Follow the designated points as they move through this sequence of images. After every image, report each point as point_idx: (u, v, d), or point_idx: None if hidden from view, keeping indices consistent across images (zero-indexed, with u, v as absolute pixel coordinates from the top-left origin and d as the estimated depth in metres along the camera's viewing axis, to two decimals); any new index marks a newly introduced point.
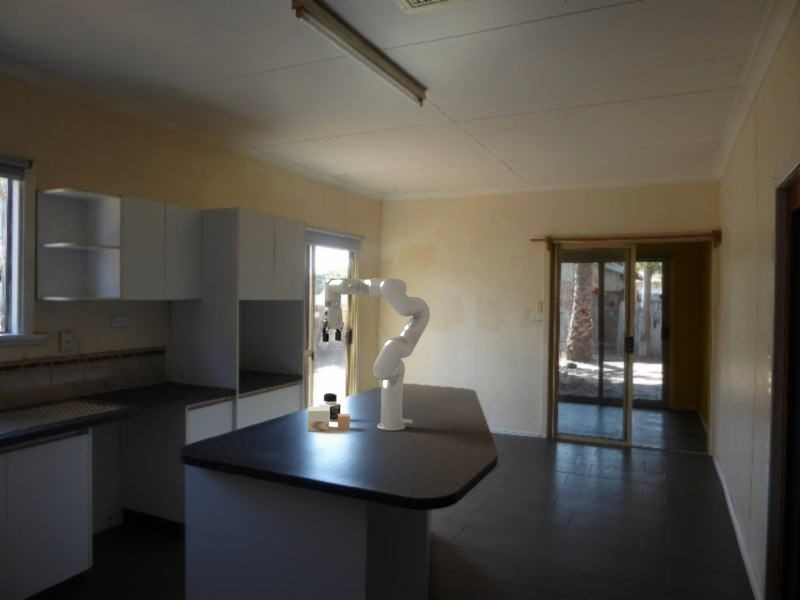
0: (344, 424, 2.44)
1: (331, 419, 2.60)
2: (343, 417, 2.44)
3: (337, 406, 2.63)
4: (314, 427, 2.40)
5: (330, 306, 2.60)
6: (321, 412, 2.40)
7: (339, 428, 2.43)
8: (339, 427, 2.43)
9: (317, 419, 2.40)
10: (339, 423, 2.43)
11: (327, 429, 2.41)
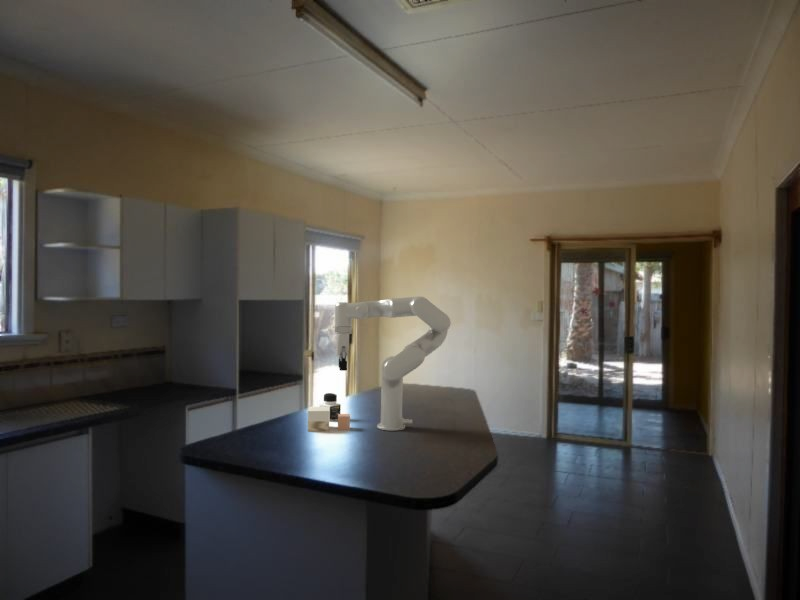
0: (344, 424, 2.44)
1: (331, 419, 2.60)
2: (343, 417, 2.44)
3: (337, 406, 2.63)
4: (314, 427, 2.40)
5: None
6: (321, 412, 2.40)
7: (339, 428, 2.43)
8: (339, 427, 2.43)
9: (317, 419, 2.40)
10: (339, 423, 2.43)
11: (327, 429, 2.41)
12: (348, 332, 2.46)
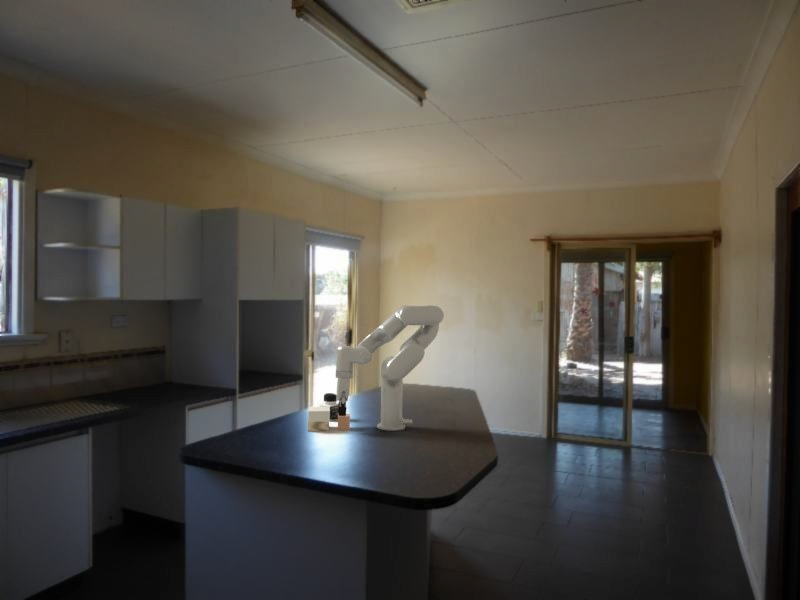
0: (344, 424, 2.44)
1: (331, 419, 2.60)
2: (343, 417, 2.44)
3: (337, 406, 2.63)
4: (314, 427, 2.40)
5: None
6: (321, 412, 2.40)
7: (339, 428, 2.43)
8: (339, 427, 2.43)
9: (317, 419, 2.40)
10: (339, 423, 2.43)
11: (327, 429, 2.41)
12: (349, 377, 2.43)
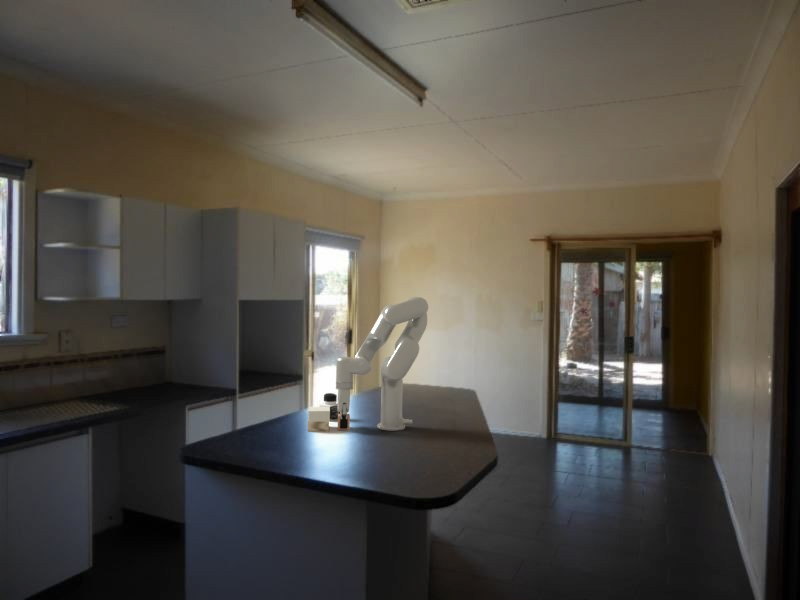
0: None
1: (331, 419, 2.60)
2: None
3: None
4: (314, 427, 2.40)
5: None
6: (321, 412, 2.40)
7: (339, 428, 2.43)
8: (339, 427, 2.43)
9: (317, 419, 2.40)
10: (339, 423, 2.43)
11: (327, 429, 2.41)
12: (349, 388, 2.43)
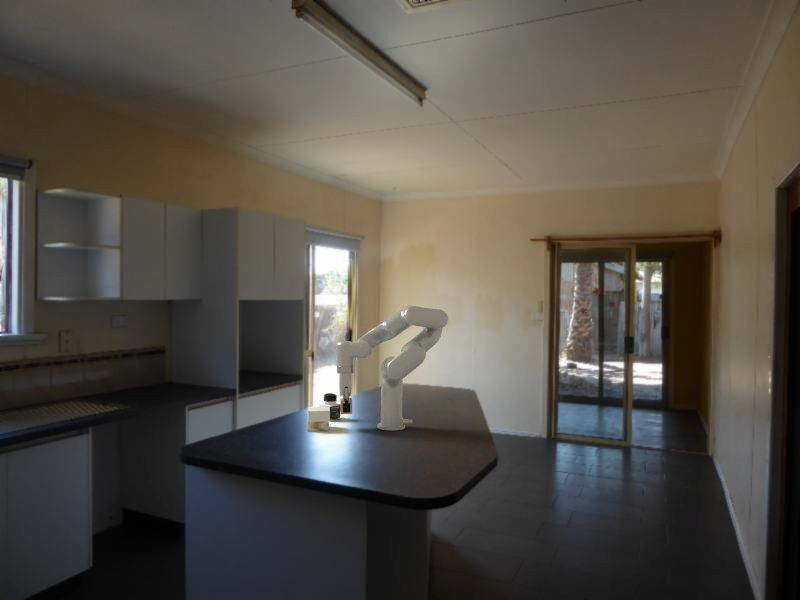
0: None
1: (331, 419, 2.60)
2: None
3: (337, 406, 2.63)
4: (314, 427, 2.40)
5: None
6: (321, 412, 2.40)
7: (342, 412, 2.43)
8: (342, 411, 2.43)
9: (317, 419, 2.40)
10: (341, 407, 2.43)
11: (327, 429, 2.41)
12: (350, 372, 2.43)
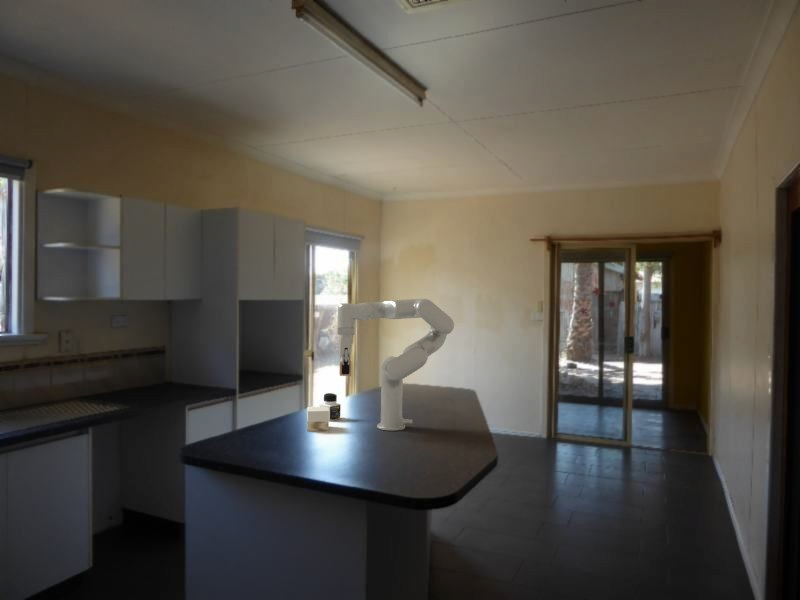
0: None
1: (331, 419, 2.60)
2: None
3: (337, 406, 2.63)
4: (313, 427, 2.40)
5: None
6: (321, 412, 2.40)
7: (341, 374, 2.43)
8: (341, 373, 2.43)
9: (317, 419, 2.40)
10: (341, 369, 2.43)
11: (327, 429, 2.41)
12: (351, 333, 2.43)
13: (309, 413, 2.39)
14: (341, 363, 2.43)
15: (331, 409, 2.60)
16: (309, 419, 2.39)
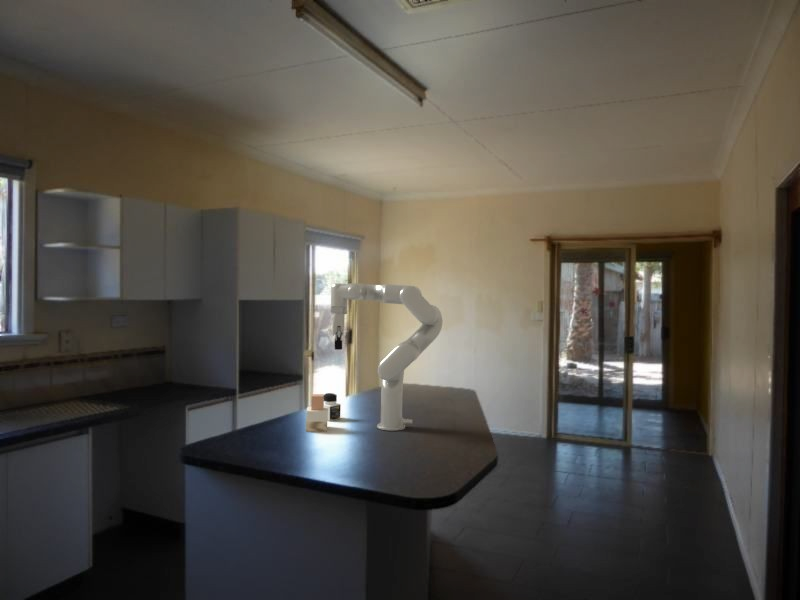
0: (317, 404, 2.41)
1: (331, 419, 2.60)
2: (316, 397, 2.41)
3: (337, 406, 2.63)
4: (312, 427, 2.39)
5: None
6: (320, 412, 2.40)
7: (312, 408, 2.41)
8: (312, 407, 2.41)
9: (316, 419, 2.39)
10: (312, 403, 2.41)
11: (325, 429, 2.40)
12: (343, 312, 2.51)
13: (308, 413, 2.39)
14: (313, 397, 2.41)
15: (331, 409, 2.60)
16: (308, 419, 2.39)
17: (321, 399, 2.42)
